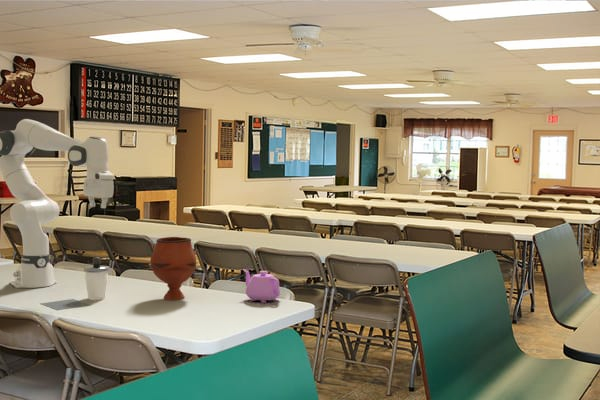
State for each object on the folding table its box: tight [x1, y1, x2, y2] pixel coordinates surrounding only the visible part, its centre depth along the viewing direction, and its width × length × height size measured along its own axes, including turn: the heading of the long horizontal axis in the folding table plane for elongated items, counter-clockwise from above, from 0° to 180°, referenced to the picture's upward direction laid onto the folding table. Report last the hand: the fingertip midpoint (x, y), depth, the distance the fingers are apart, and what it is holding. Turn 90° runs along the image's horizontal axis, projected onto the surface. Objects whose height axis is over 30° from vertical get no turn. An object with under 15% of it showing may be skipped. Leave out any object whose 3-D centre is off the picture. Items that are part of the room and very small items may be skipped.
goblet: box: [149, 236, 197, 301], centre depth 292 cm, size 19×19×25 cm
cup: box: [84, 271, 109, 301], centre depth 289 cm, size 9×9×12 cm
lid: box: [83, 256, 110, 273], centre depth 289 cm, size 10×10×5 cm
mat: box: [39, 298, 91, 311], centre depth 277 cm, size 16×14×1 cm
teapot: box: [242, 268, 281, 304], centre depth 290 cm, size 20×14×12 cm
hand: (98, 207), depth 299 cm, fingers open, 8 cm apart
